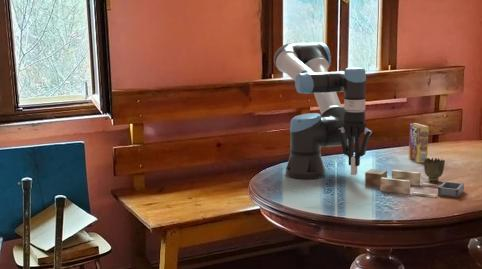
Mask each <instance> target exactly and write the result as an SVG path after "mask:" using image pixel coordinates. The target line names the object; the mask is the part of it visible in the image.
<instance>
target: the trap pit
mask: <svg viewBox="0 0 482 269" xmlns="http://www.w3.org/2000/svg"><path fill="white" fill-rule="evenodd" d="M439 185H440V186H439V187H438V188H437V196H439V197H447V198H453V199H459V197H460V196H461V195H462V194H463V193H464V190H465V183H461V182H453V181H443V183H441V184H439Z"/></svg>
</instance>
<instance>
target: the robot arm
mask: <svg viewBox="0 0 482 269" xmlns="http://www.w3.org/2000/svg"><path fill="white" fill-rule="evenodd" d="M331 62H332V56H331V51H330V48H329V47H328V45H327V44H326V43H324V42H317V41H314V42H292V43H286V44H283V45H282V46H280V47H279V48H278V49H277V50H276V52H275V54H274V56H273V63H274V66H275V68H276V69H277V70H278V71H279V72H281V73H284V74H286V75H287V76H289V78H290V79H292V80H293V81H294V87H295V89H296V92H297V93H298V94H307V95H309V94H314V98H315V100H316V103H317V106H318V109H319V111H320V113H318V112H312V113H310V112H309V113H302V114H299V115H295V116H294V117H292V118H291V120H290V126H289V134H290V135H289V137H290V138H289V139H290V142H289V143H290V144H289V146H290V149H289V150H290V151H289V152H290V154H289V158H288V162H287V164H286V166H285V175H286V176H287V177H288V178H292V179H299V180H300V179H301V180H310V179H311V180H315V179H319V178H320V179H321V178H323V177H325V175H326V168H325V165H324V160H323V158H322V152H321V151H322V150H321V149H322V148H325V147H326V148H327V147H328V148H329V147H342V148H341V149H342V153H343V155H345V156H347V157H348V166H350V175H351V176H356V175H358V167H359V166H360V164H361V163H360V162H361V157H364V156H365V155H366V151H367V147H368V144H369V140H370V137H371V135H372V133H373V130H371V129H369V128H367V125H366V111H365V110H366V86H367V85H366V83H367V82H366V81H367V73H366V69H365V67H359V66H358V67H347V68H345V69H344V70H337V71H328V70H329V68H330V66H331ZM341 92H343V95H344V96H343V97H344V98H343V99H344V101H343V102H344V104H343V105H344V106H342V103H341V101H340V99H339V96H338V94H337V93H341ZM363 133H364V136H363V140H362V139H361V138H362V135H363ZM361 140H362V144H361Z"/></svg>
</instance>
